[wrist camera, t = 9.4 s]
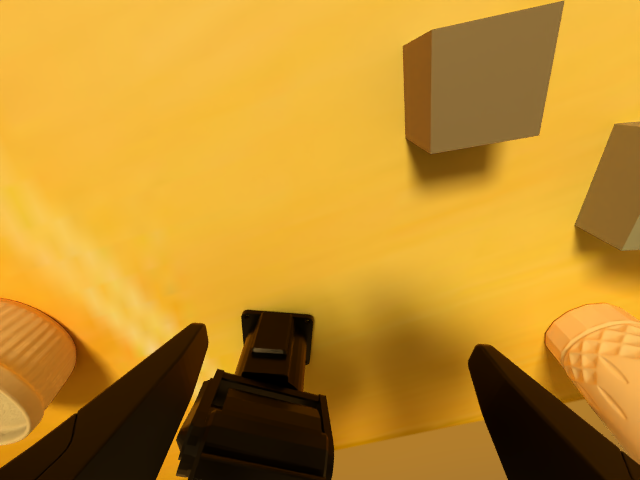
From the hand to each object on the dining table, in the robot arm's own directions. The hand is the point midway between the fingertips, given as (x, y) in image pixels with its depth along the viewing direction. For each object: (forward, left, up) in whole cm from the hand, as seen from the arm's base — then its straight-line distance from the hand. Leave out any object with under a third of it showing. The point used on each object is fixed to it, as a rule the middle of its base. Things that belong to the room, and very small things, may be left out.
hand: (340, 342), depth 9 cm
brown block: (+8, -6, -13) cm, 16 cm away
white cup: (-10, -24, -13) cm, 29 cm away
